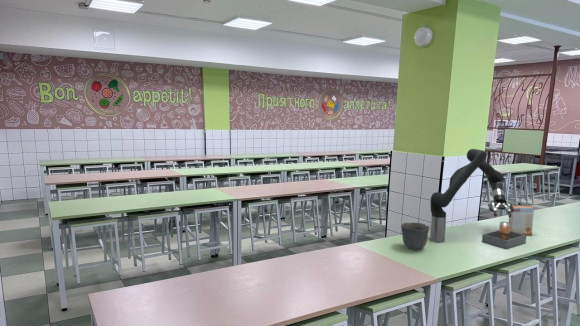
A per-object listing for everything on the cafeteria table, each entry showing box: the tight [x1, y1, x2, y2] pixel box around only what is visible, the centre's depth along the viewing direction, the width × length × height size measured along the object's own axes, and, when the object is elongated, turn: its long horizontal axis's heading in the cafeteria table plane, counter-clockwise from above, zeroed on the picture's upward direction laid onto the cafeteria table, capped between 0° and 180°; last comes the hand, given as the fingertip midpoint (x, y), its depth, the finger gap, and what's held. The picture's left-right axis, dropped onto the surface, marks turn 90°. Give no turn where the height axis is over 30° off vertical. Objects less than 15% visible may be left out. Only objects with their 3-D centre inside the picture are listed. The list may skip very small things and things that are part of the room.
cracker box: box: [508, 205, 534, 237], centre depth 258 cm, size 14×6×21 cm, turn 84°
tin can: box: [498, 221, 510, 240], centre depth 241 cm, size 6×6×13 cm
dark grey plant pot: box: [400, 222, 431, 250], centre depth 229 cm, size 18×18×15 cm
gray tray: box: [481, 229, 527, 250], centre depth 241 cm, size 24×16×6 cm, turn 120°
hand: (503, 216), depth 245 cm, fingers open, 8 cm apart
